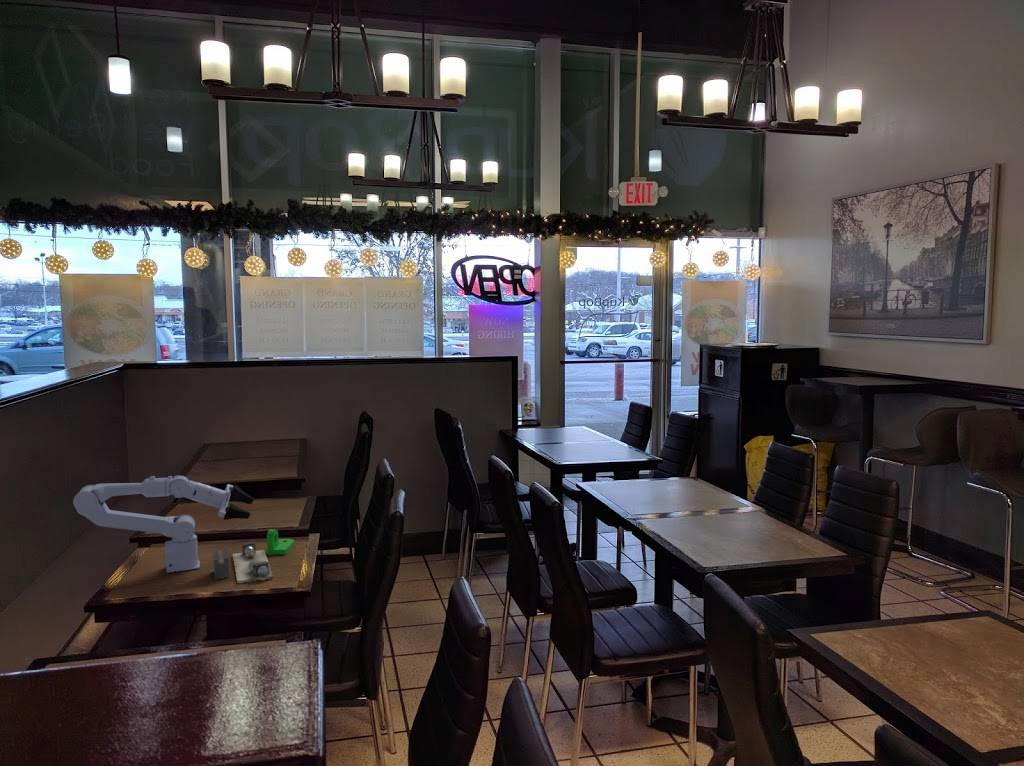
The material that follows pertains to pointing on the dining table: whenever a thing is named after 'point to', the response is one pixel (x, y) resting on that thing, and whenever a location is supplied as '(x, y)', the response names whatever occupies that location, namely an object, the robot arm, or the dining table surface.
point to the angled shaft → (259, 568)
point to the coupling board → (243, 571)
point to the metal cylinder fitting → (248, 549)
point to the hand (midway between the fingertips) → (251, 508)
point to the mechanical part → (277, 543)
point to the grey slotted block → (221, 564)
